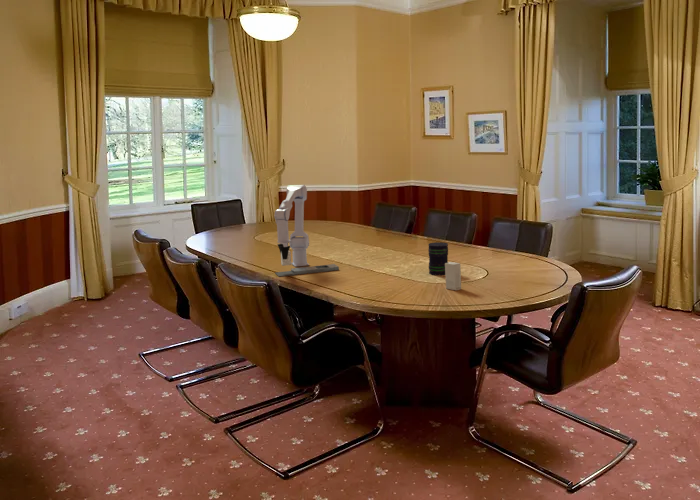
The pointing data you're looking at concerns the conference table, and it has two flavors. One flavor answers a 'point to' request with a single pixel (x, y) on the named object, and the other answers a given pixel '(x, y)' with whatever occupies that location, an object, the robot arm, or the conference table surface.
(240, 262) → the conference table surface
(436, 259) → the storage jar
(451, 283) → the skincare box
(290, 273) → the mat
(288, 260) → the pale grey square block
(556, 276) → the conference table surface
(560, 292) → the conference table surface
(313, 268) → the rail
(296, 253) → the robot arm
